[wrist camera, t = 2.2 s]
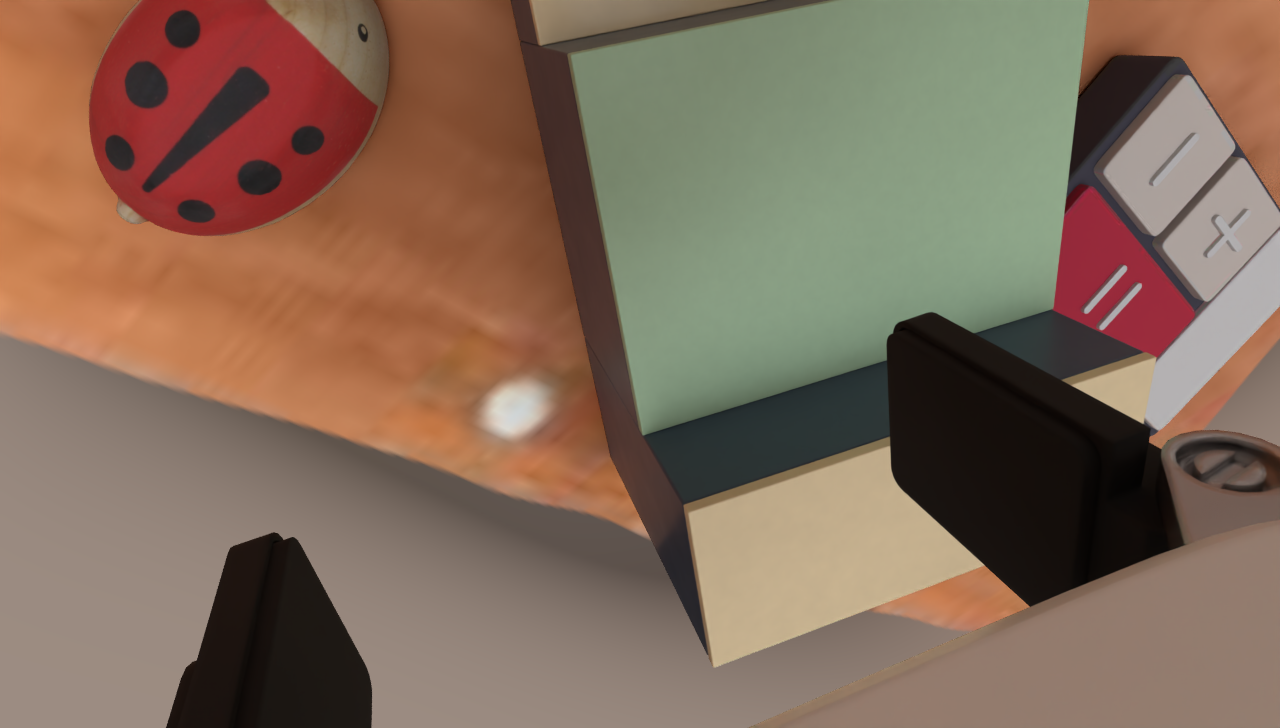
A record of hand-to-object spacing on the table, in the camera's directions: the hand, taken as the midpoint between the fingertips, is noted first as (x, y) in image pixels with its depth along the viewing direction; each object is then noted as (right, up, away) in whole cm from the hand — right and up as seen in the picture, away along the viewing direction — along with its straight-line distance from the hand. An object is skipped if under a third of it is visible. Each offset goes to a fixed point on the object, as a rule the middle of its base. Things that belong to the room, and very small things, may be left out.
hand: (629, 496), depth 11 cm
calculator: (+22, +8, +25) cm, 34 cm away
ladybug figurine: (-12, +10, +12) cm, 20 cm away
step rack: (+4, +10, +17) cm, 20 cm away
